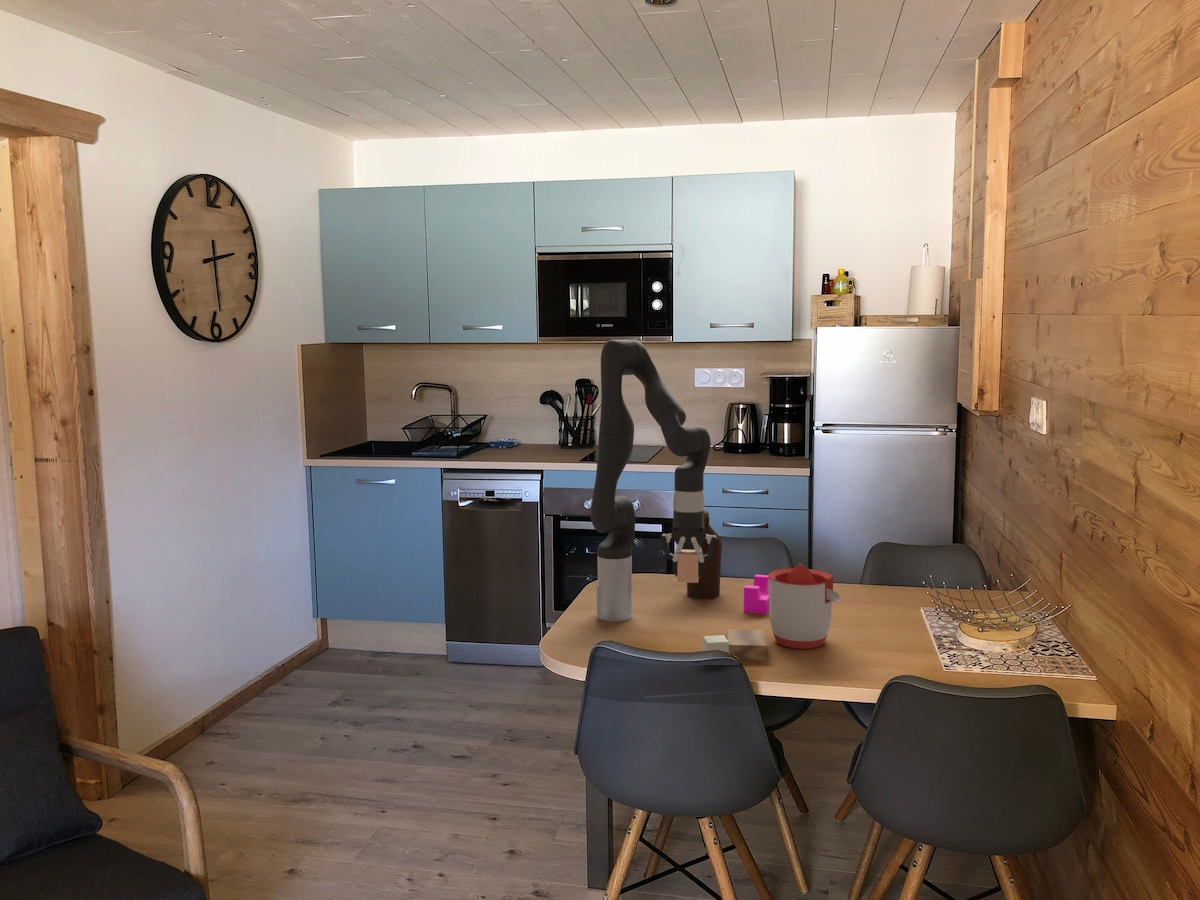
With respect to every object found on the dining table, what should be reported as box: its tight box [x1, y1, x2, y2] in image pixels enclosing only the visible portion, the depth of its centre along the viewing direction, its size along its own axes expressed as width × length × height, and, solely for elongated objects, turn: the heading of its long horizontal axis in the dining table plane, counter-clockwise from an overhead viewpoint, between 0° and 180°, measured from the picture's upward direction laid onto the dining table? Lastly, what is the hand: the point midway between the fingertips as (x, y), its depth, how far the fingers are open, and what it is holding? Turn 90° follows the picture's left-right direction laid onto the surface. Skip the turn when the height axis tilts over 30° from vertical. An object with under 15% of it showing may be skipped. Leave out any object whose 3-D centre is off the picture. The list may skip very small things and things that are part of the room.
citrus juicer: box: [767, 563, 841, 650], centre depth 233 cm, size 16×17×20 cm
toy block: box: [743, 574, 769, 615], centre depth 265 cm, size 15×6×8 cm, turn 158°
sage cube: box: [702, 634, 729, 653], centre depth 223 cm, size 5×5×5 cm
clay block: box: [676, 550, 699, 584], centre depth 233 cm, size 5×5×7 cm
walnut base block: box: [725, 628, 768, 662], centre depth 228 cm, size 9×12×4 cm
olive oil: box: [686, 510, 723, 600], centre depth 276 cm, size 11×11×25 cm
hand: (688, 575), depth 233 cm, fingers closed on clay block, 5 cm apart
